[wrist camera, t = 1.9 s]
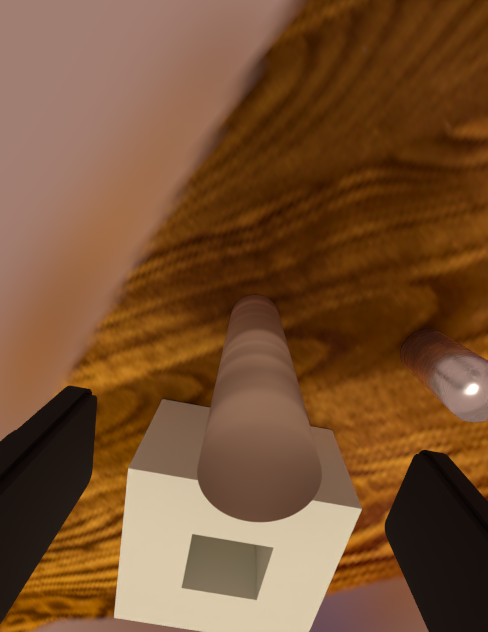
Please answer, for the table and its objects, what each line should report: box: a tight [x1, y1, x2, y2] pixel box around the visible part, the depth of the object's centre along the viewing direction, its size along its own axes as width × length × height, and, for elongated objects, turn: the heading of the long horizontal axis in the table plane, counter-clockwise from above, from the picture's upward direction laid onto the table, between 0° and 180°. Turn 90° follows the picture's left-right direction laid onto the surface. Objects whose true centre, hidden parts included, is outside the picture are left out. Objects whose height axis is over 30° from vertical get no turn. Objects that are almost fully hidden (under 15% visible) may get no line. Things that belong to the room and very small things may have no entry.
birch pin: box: [197, 295, 322, 522], centre depth 13 cm, size 3×3×12 cm
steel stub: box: [400, 329, 488, 422], centre depth 17 cm, size 3×3×5 cm
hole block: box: [114, 399, 362, 632], centre depth 20 cm, size 12×12×6 cm
